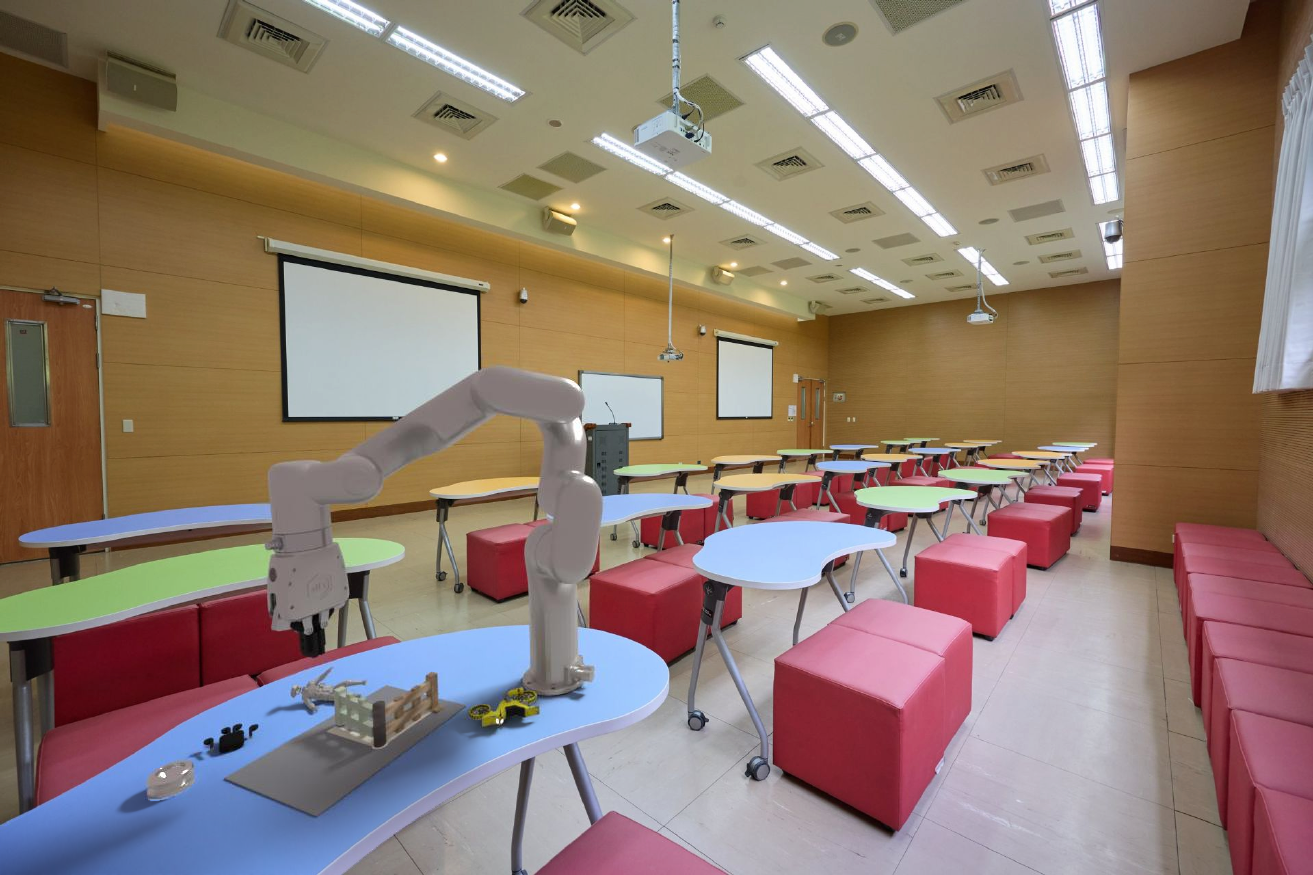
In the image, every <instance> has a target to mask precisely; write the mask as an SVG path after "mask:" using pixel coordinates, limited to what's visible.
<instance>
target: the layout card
mask: <svg viewBox="0 0 1313 875" xmlns="http://www.w3.org/2000/svg"><path fill="white" fill-rule="evenodd" d="M409 691H410V690H407V689H402V688H401V687H396V686H391V685H388V684H386V685H384V686H382V687H381V688H378V689H377V690H375V691H374V692H372V693H370V694H368V695H367V696H365V697H364V698H367V702H368V703H370V704H372V705H373V704H374V703H375V702H377V701H385V706H386V705H387V704H389V703H391V702H392V701H394V699H395V698H397V697H398V696H402V695H404V694H405V693H407V692H409ZM420 697H421V700H423V699H424V698H426V694H423V695H421V696H420ZM438 705H441V706H444V709H443V710H442V711H440V712H439V713H435V712H433V711H429V710H424V711H422V712H421V718H420V719H419V720H417V721H412V719H411V720H409V721H408V722H406V723H405V724H404V730H403V731H401V732H400V733H396V732H395V730H394V731H393V732H391V733H390V734H388V735H387V736H386V744H385V745H384V746H382V747H379V748H375V747H374V736H371V735H369V734H367V735H365V736H362V735H360V734H359V729H357V728H354V729H353V730H350V729H348V728H347V723H345V724H343V725H341V726H339V725H337V724H335V714H333V715H332V716H330V717H328V718H326V719H325V720H323V721H321V722H319V723H318V724H316V725H314V726H313V727H311V728H309V729H307V730H306V731H303V732H302V733H300V734H298V735H297V736H295V737H293V738H291V739H289V740H288V741H286V742H285V743H283V744H281V745H279V746H278V747H275V748H274V749H273V750H270V751H268V752H267V753H265V754H263V755H262V756H260V757H259V758H257V759H255V760H253V761H251V762H250V763H247V764H246V765H244V766H243V767H241V768H239V769H238V770H235V771H234V772H232V773H230V774H229V775H227V776H225V777H224V778H223V779H224V780H226V781H228V782H231V783H233V784H235V785H238V786H240V787H243V788H245V789H248V790H249V791H253V792H254V793H257V794H260V795H262V796H264V797H266V798H269V799H272V800H274V801H276V802H278V803H282V804H284V805H286V806H289V807H292V808H293V809H295V810H298V811H301V812H304V813H306V814H308V815H311V816H312V817H315V818H318V817H319V816H320V815H322V814H323V813H324V812H325V811H327V810H328V809H329V808H331V807H332V806H334V805H335V804H336V803H338V802H339V801H341V800H342V799H344V797H346V796H347V795H349V794H350V793H351V792H352V791H355V789H357V788H358V787H359V786H361V785H362V784H364V783H365V782H366V781H369V779H370V778H372V777H373V776H375V775H376V774H377V773H379V772H380V771H381V770H383V769H384V768H385V767H386V766H388V765H389V764H391V763H392V762H393V761H395V760H396V759H397V758H399V757H400V756H402V754H404V753H405V752H406V751H408V750H409V749H411V748H412V747H413V746H415V745H416V744H418V743H420V741H422V740H423V739H425V737H427V736H428V735H429V734H431V733H432V732H434V731H435V730H436V729H438V728H439V727H440V726H442V725H443V724H445V723H446V722H447V721H449V720H450V719H451V718H453V717H454V716H456V715H457V714H458V713H459V712H461V711H462V710H463V709H465V708H466V707H467V705H465V704H463V703H457V702H453V701H451V700H446V699H442V698H439V697H438ZM410 707H412V702H410V703H408V704H407V705H405V706H404V711H406V710H407V709H409V708H410ZM355 712H356V714H357V715H359V713H358V712H357V711H355ZM392 719H394V713H393V714H391V715H390V716H388V717H387V718H386V723H387V722H389V721H390V720H392ZM368 720H369V721H371V722H373V718H370V717H368Z"/></svg>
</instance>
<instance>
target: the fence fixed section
mask: <svg viewBox="0 0 1313 875" xmlns="http://www.w3.org/2000/svg"><path fill="white" fill-rule="evenodd" d="M438 677H439V675H438V672H434V671H431V672H428V673H426V674H425V681H424V682H422V683H420V684H418V685H417V684H416V685H415V686H412V687H411V688H410V690H408V691H409V692H407V693H405V694H404V695H402V696H398V697H397V698H395V699H394V701H392V702H391V703H389V704H387V705H386V706H385V701H377V702H375V703H374V704H373V705H372V709H373V736H374V747H375V748H379V747H382V746H384V745H385V744H386V736H387V735H388V734H390V733H391V732H393V731H394V730H395V732H396V733H400V732H401V731H403V730H404V724H405V723H406V722H408V721H409V720H411V719H412V721H417V720H419V719H420V718H421V712H422V711H424V710H429V711H433V712H435V713H439V712H440V711H442V710H443V709H444V706H441V705H438V698H439V683H438V681H439V678H438ZM421 695H426V698H424V699H423V700H421V697H420V696H421ZM410 702H412V707H410V708H409V709H407V710H406V711H404V706H405V705H407V704H408V703H410ZM393 713H394V719H392V720H390V721H389V722H387V723H386V718H387V717H388V716H390V715H391V714H393Z"/></svg>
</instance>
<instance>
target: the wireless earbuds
mask: <svg viewBox="0 0 1313 875" xmlns="http://www.w3.org/2000/svg"><path fill="white" fill-rule="evenodd" d="M242 728H243V724H242V723H236V724H234V725H233V726H232V728H231V727H230V726H227V727H224V728H222V729H221V730H220V734H221V736H220V737H219V739H218V751H219V753H220V754H222V753H224V754H226V752H227V753H230V752H233V751H235V750H240V749H241V748H243V746H244V745H245V730H242ZM258 728H259V724H258V723H255V724H251V725H250V726H249V728H248V739H249V740H251V739H253V732H255V731H257V730H258ZM214 744H215V739H214V737H207V738H205V739H204V740H203V745H204V746H209V751H210V752H212V751H214V747H215V746H214ZM229 751H230V752H229Z"/></svg>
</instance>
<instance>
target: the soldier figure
mask: <svg viewBox="0 0 1313 875" xmlns="http://www.w3.org/2000/svg"><path fill="white" fill-rule="evenodd" d="M333 669H335V667H334V666H332V667H329V668H328V669H327V670H325V671H324V672H323V673H322V674H321V675H319V677H317V678H315V679H312V680H310V681H308V682H307V684H306V685H305V686H302V685H299V684H294V685H293V686H292V688H291V690H290V697H291V698H292V699H295V698H296V696H297V695H300V694H301V700H302V701H303V703H305V705H306V706H307V708H308V709H309V710H311V711H313V712H319V709H320V707H319V706H318V705H317V706H316V705H315V703H313V701H312V699H313V700H315V701H318V702H319V701H324V702H334V689H337V688H339V687H341V686H343V687H346V688H349V687H355V686H359V685H360V686H366V685H367V682H368V679H364V680H362V681H361V680H352V679H346V680H343V681H341V682H338V683H337V684H336V685H334V686H333V685H331V684H330V685H329V684H328V685H327V683H326V682H322V681H324V680H325V678H326V677H328V675H329V674H330V673H332V670H333ZM355 697H357V698H361V697H363V693H355Z"/></svg>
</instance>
